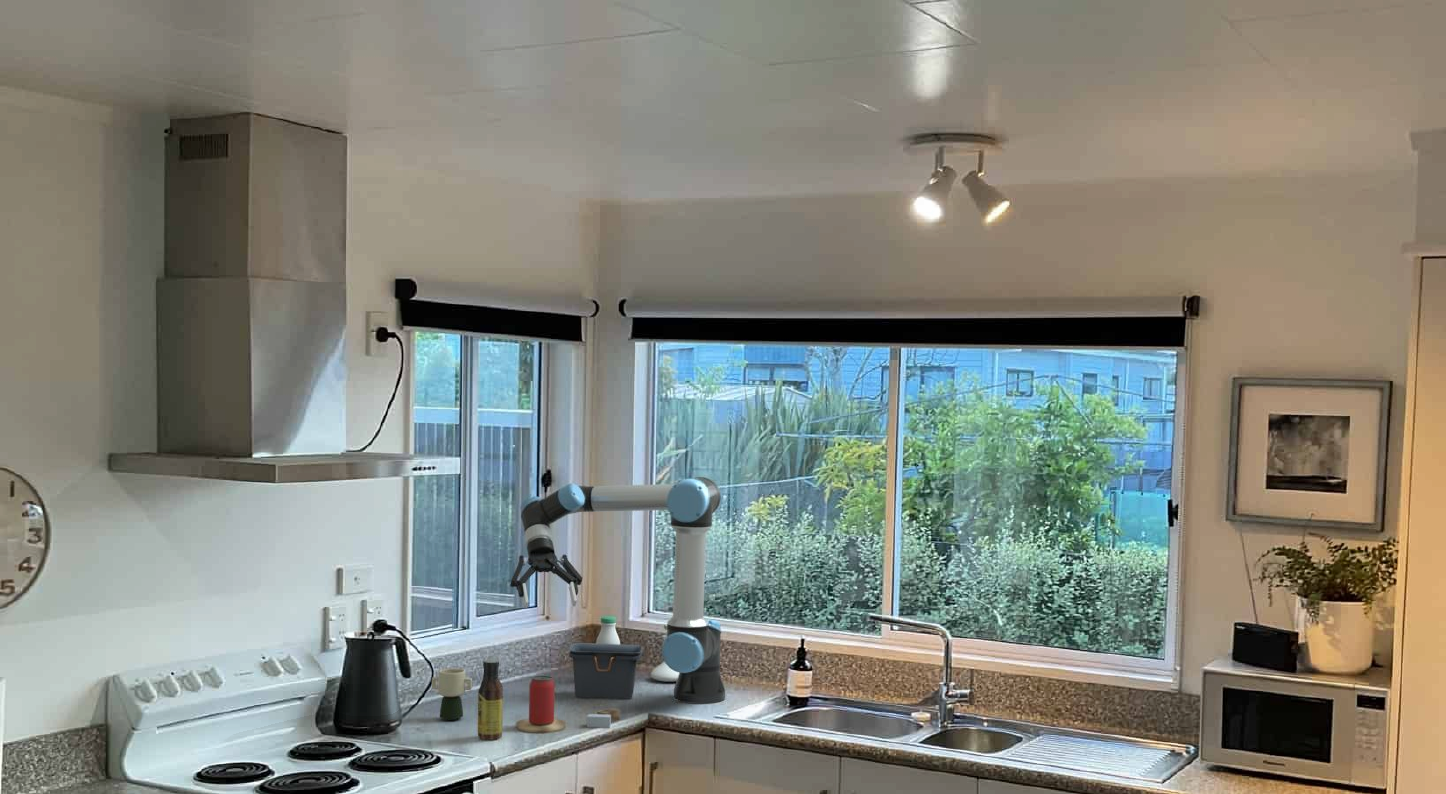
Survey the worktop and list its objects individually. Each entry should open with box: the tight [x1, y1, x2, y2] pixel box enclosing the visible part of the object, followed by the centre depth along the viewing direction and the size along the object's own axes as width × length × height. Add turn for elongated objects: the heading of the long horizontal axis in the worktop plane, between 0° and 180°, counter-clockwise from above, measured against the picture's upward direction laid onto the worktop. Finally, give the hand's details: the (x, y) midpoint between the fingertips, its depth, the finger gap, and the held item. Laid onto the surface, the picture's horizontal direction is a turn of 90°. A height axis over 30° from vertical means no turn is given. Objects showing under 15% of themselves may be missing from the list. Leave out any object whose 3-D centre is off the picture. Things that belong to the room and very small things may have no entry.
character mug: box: [431, 667, 473, 721], centre depth 369 cm, size 11×7×13 cm, turn 87°
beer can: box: [528, 675, 556, 725], centre depth 362 cm, size 7×7×12 cm
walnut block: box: [596, 707, 621, 723], centre depth 371 cm, size 6×3×3 cm, turn 146°
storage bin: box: [568, 642, 644, 700], centre depth 400 cm, size 21×16×14 cm
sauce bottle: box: [477, 658, 504, 741], centre depth 349 cm, size 7×6×20 cm
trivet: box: [515, 717, 567, 734], centre depth 362 cm, size 13×13×1 cm
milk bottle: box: [595, 615, 621, 645], centre depth 420 cm, size 8×8×20 cm
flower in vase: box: [650, 608, 679, 683], centre depth 425 cm, size 13×11×25 cm
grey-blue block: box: [586, 713, 612, 729], centre depth 364 cm, size 6×3×3 cm, turn 90°
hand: (550, 604), depth 380 cm, fingers open, 13 cm apart
